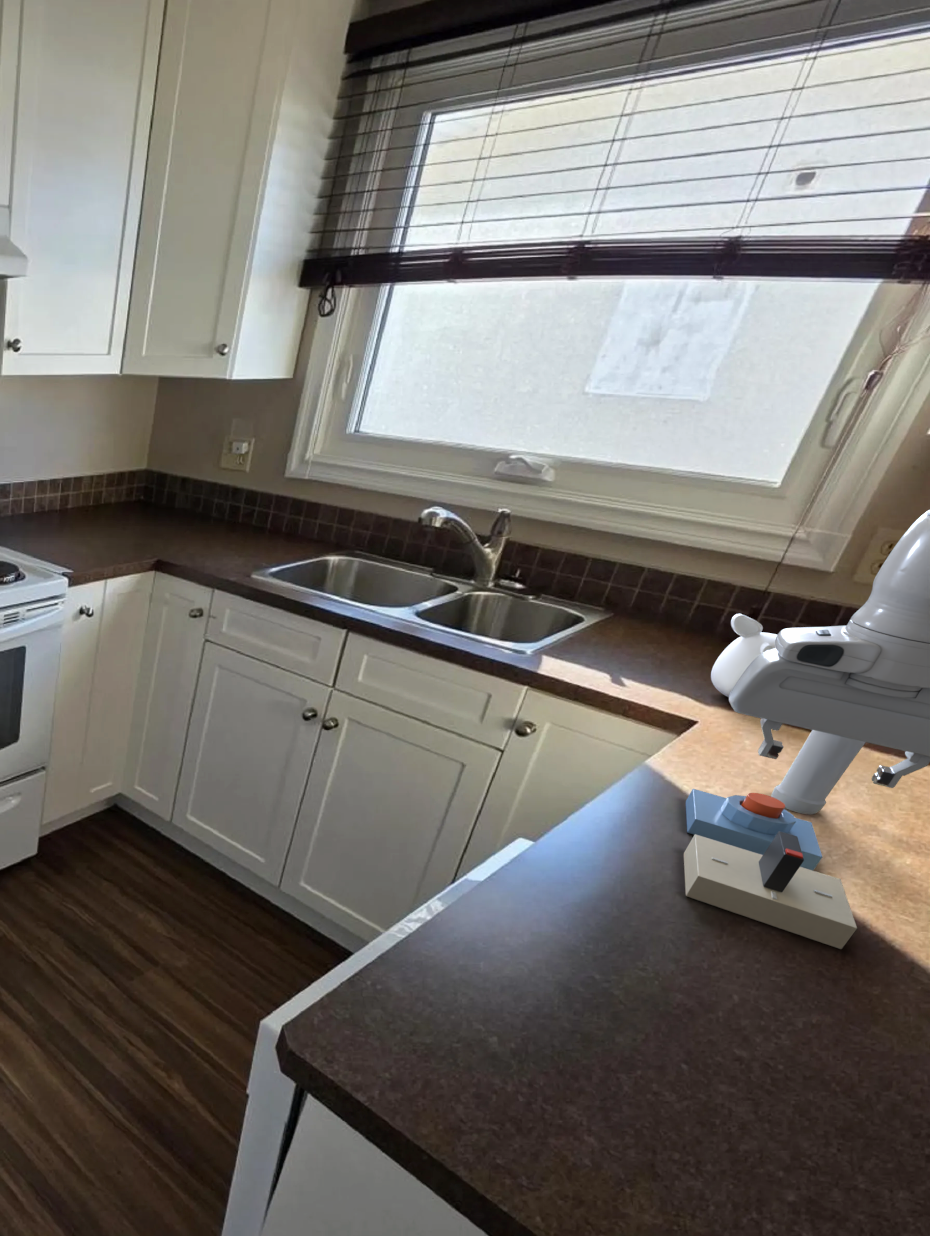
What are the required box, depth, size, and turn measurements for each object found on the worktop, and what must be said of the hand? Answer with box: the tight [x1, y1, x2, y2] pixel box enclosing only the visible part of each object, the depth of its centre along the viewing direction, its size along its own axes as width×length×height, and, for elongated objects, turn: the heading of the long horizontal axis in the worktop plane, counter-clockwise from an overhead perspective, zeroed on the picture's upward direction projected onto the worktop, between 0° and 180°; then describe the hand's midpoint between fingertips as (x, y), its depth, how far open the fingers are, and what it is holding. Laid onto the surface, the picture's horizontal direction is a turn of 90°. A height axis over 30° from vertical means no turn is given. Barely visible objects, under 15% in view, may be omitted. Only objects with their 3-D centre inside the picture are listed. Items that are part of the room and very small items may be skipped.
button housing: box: [685, 788, 823, 871], centre depth 104 cm, size 12×10×4 cm
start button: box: [741, 792, 786, 819], centre depth 103 cm, size 4×4×2 cm
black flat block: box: [759, 831, 804, 892], centre depth 90 cm, size 6×2×5 cm, turn 141°
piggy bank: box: [710, 613, 778, 698], centre depth 140 cm, size 12×12×15 cm
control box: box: [683, 834, 858, 950], centre depth 92 cm, size 13×11×3 cm
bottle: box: [770, 730, 866, 815], centre depth 106 cm, size 5×5×25 cm
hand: (822, 769), depth 91 cm, fingers open, 8 cm apart
